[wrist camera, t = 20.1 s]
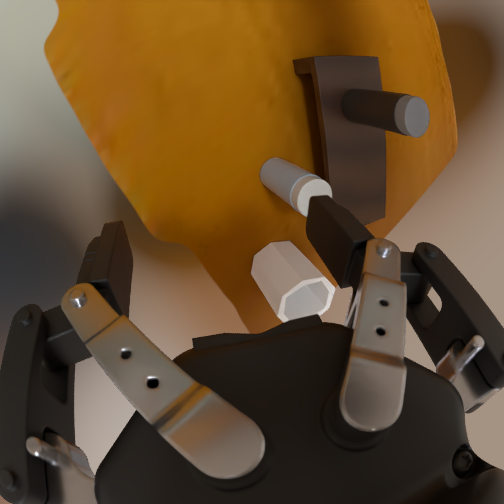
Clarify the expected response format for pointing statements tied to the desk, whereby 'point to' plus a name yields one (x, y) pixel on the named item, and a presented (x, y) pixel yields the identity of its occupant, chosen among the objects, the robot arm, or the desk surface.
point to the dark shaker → (387, 111)
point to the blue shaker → (292, 183)
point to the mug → (291, 281)
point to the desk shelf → (349, 134)
